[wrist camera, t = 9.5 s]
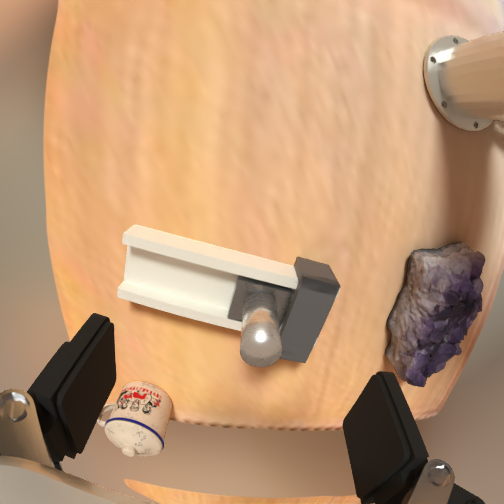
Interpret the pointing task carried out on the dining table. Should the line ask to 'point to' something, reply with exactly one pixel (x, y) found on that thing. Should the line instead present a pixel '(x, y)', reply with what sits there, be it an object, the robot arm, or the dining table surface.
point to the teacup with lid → (138, 419)
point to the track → (223, 284)
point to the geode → (434, 310)
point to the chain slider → (260, 318)
